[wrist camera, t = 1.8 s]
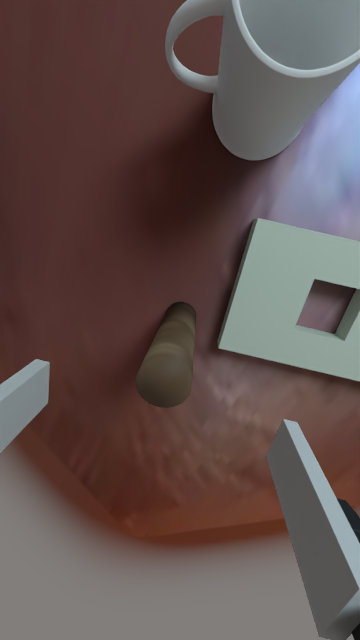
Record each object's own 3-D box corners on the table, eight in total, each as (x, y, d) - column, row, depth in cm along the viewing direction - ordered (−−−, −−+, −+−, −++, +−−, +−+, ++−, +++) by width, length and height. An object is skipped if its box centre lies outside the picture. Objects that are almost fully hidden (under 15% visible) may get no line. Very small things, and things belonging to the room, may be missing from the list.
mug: (171, 152, 23) (143, 68, 12) (182, 34, 20) (159, -225, 9) (294, 165, 23) (388, 92, 11) (323, 47, 20) (487, -210, 8)
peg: (163, 326, 29) (132, 400, 16) (169, 298, 28) (140, 353, 15) (192, 333, 29) (184, 412, 16) (199, 305, 28) (197, 367, 15)
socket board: (217, 341, 29) (218, 348, 27) (253, 219, 24) (257, 218, 22) (377, 378, 29) (390, 388, 27) (445, 264, 24) (466, 266, 22)
